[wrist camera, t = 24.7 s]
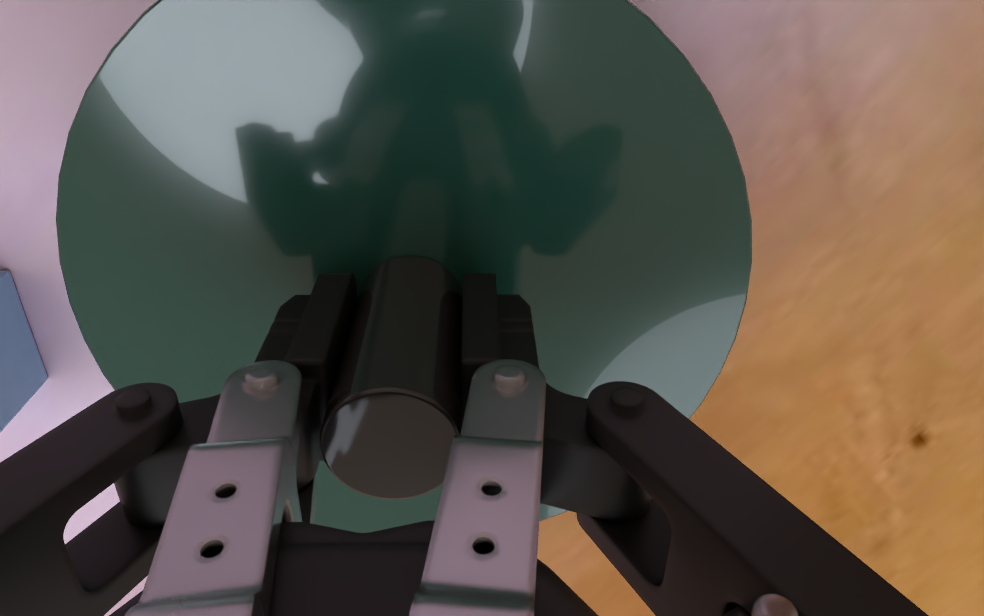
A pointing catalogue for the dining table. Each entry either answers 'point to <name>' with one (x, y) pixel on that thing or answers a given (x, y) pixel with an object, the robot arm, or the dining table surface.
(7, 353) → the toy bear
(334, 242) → the lid
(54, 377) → the dining table surface
